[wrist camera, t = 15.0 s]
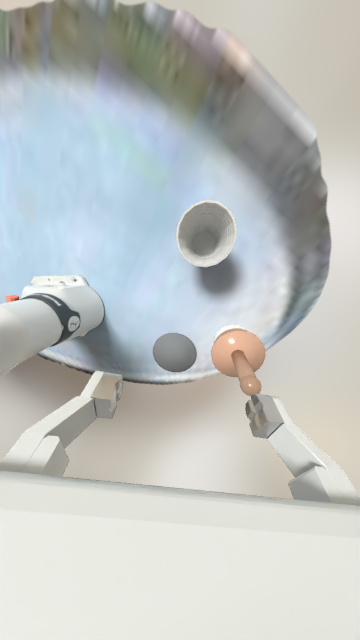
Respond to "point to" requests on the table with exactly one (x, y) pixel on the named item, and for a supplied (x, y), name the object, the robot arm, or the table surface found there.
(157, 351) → the coaster
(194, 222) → the plastic cup
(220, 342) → the lid
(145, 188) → the table surface
